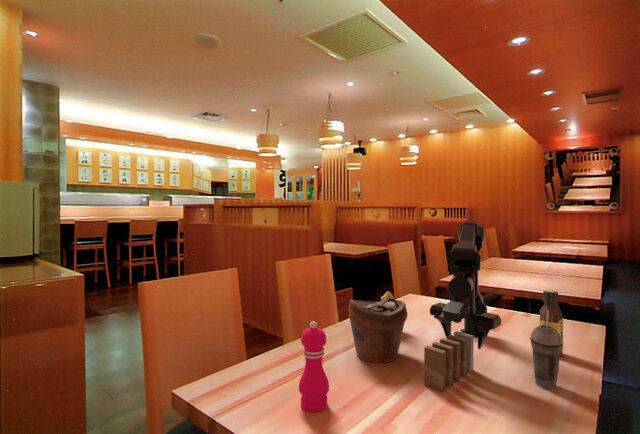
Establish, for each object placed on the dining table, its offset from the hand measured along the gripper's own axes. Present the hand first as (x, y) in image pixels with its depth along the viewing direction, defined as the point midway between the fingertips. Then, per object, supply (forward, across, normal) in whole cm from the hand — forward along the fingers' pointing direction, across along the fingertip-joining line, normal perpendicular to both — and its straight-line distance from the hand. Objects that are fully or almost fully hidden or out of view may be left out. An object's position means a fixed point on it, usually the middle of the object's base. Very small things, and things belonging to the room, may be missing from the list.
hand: (463, 344), depth 103 cm
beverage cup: (+7, +19, +6) cm, 21 cm away
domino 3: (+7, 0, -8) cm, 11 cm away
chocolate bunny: (+7, -34, +10) cm, 36 cm away
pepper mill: (+7, -15, -44) cm, 47 cm away
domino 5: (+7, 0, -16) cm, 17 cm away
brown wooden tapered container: (+7, -23, -10) cm, 26 cm away
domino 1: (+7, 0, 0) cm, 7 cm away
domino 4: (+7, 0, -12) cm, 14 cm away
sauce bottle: (+7, +14, +31) cm, 34 cm away
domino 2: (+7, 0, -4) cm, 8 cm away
